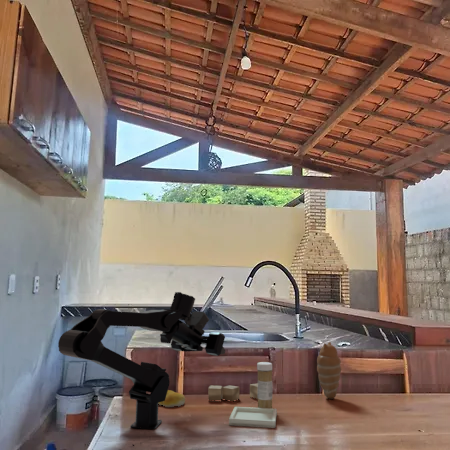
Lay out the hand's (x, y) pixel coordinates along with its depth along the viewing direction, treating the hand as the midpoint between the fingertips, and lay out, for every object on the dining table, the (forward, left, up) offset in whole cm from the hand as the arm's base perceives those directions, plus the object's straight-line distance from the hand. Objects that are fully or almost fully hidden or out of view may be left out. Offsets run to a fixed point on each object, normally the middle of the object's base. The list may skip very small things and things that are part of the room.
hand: (213, 350), depth 128 cm
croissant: (+15, -37, -16) cm, 43 cm away
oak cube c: (+13, -13, -16) cm, 25 cm away
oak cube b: (+8, -5, -16) cm, 19 cm away
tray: (-13, -14, -16) cm, 25 cm away
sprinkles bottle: (-3, -16, -16) cm, 23 cm away
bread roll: (-1, +13, -17) cm, 21 cm away
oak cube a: (+7, 0, -16) cm, 18 cm away
